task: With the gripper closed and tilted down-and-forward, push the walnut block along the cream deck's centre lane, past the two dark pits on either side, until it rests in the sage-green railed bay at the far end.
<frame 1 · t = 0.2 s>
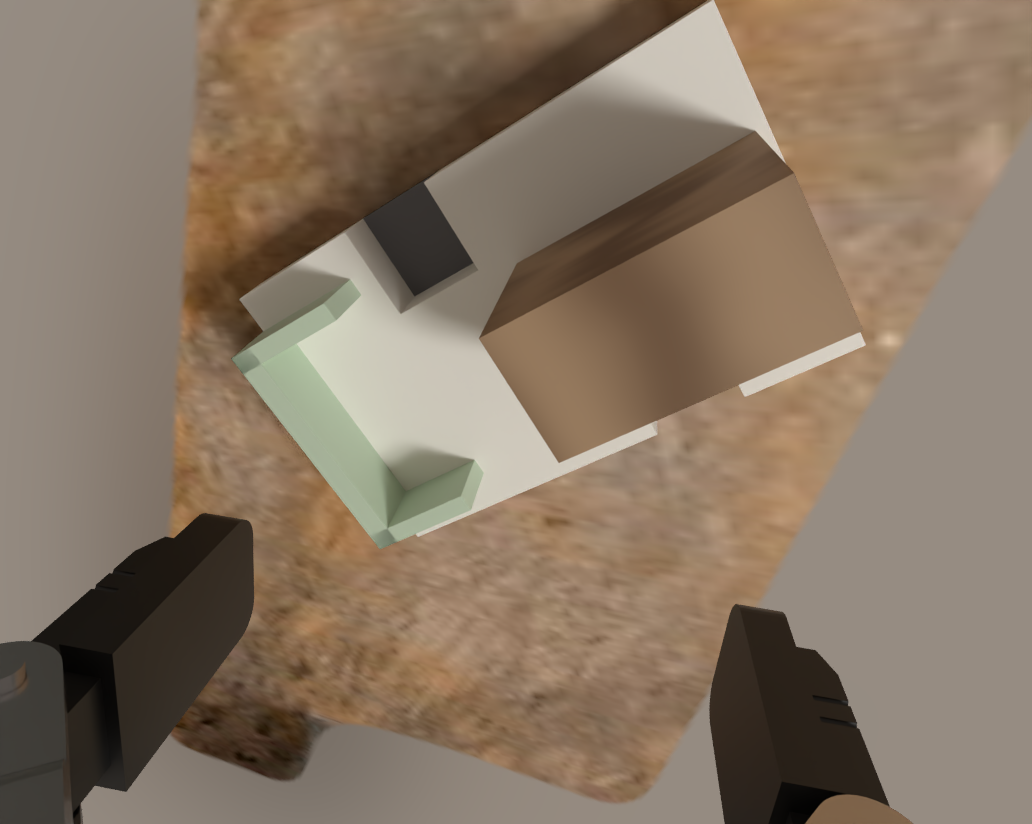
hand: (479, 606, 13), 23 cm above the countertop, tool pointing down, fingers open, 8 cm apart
walnut block: (658, 257, 30), point 2 cm above the countertop, touching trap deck
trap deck: (543, 300, 34), on the countertop
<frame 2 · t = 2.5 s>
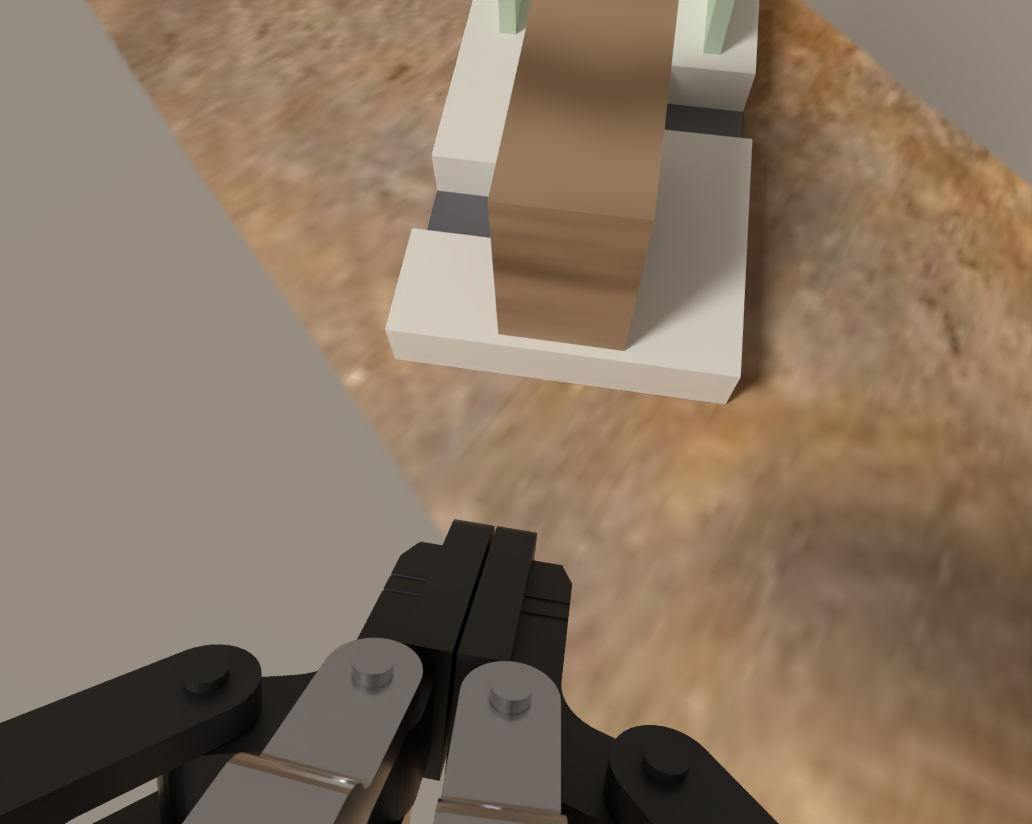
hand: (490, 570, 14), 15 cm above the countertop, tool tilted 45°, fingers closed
walnut block: (577, 239, 32), point 2 cm above the countertop, touching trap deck
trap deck: (589, 177, 36), on the countertop
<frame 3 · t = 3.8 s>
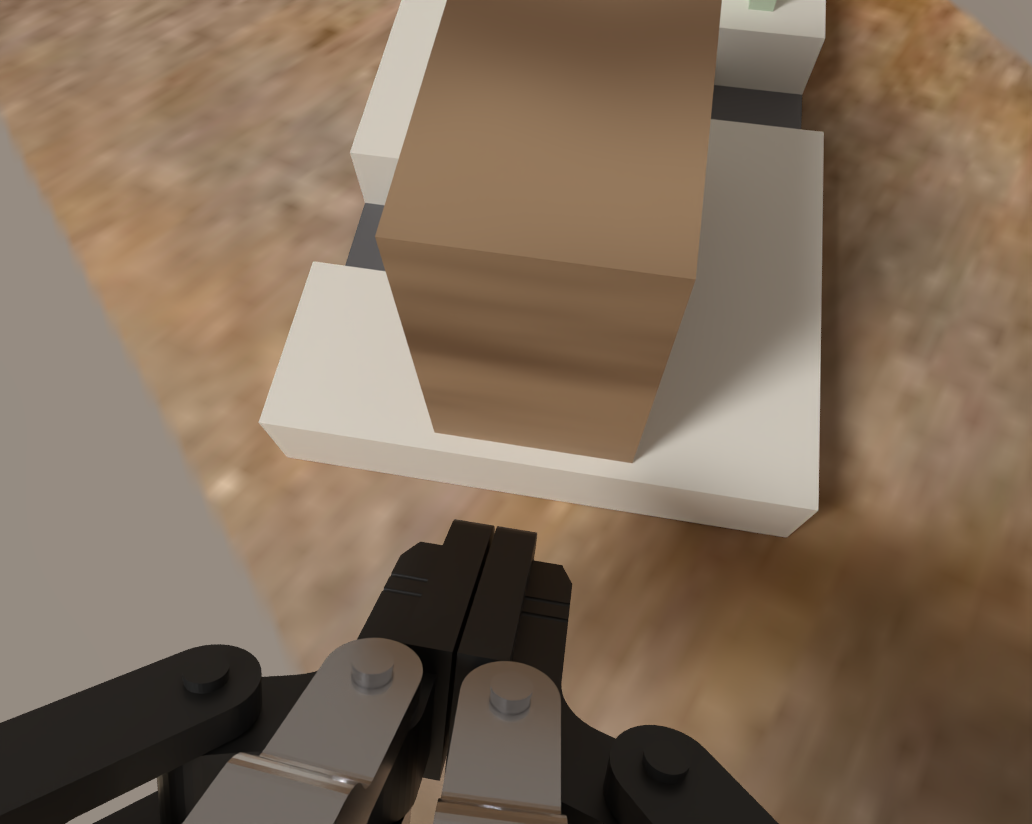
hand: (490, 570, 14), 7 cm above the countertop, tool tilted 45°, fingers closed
walnut block: (561, 281, 21), point 2 cm above the countertop, touching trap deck
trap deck: (583, 185, 26), on the countertop
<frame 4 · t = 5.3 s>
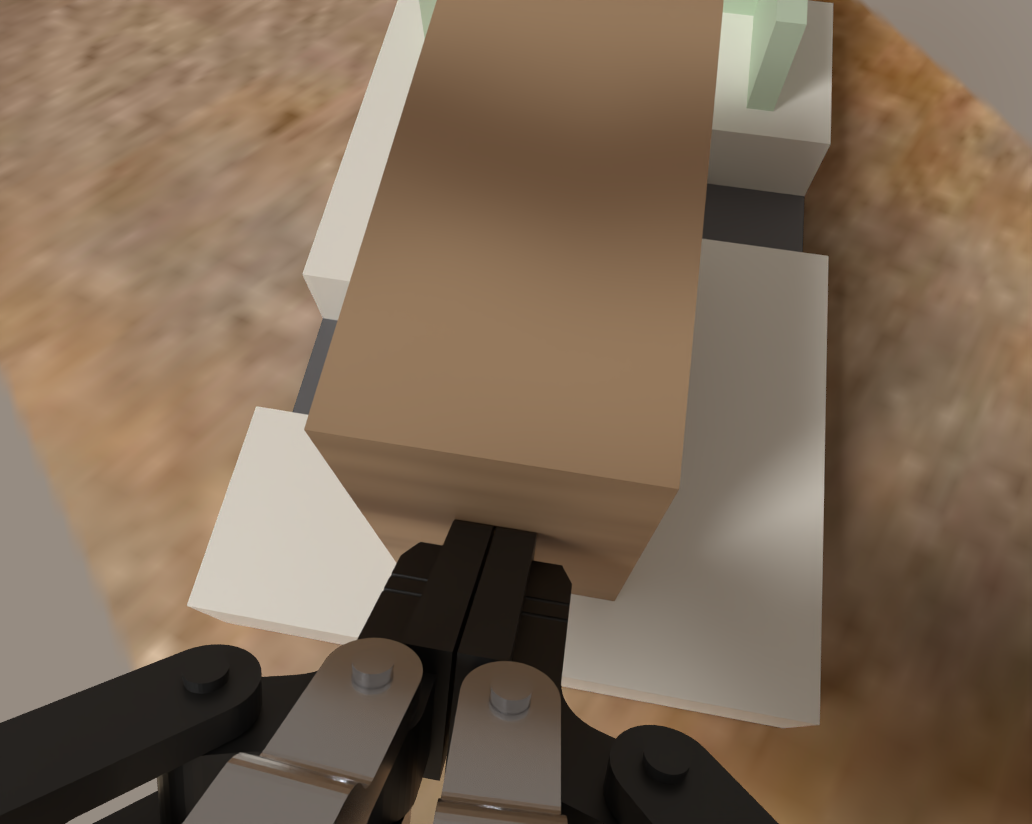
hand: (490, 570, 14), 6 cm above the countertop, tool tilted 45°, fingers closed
walnut block: (539, 386, 19), point 2 cm above the countertop, touching gripper, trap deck
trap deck: (564, 299, 23), on the countertop
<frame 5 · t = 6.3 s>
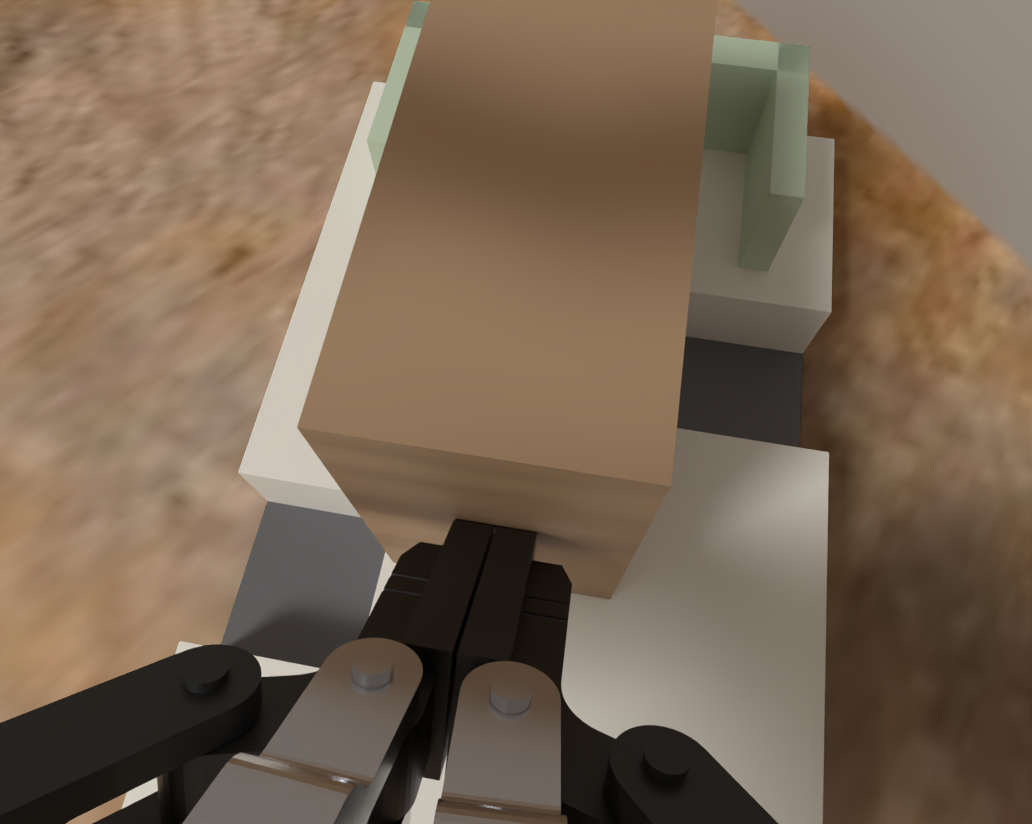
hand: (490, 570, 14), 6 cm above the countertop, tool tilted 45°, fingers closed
walnut block: (535, 385, 19), point 3 cm above the countertop
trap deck: (536, 477, 21), on the countertop
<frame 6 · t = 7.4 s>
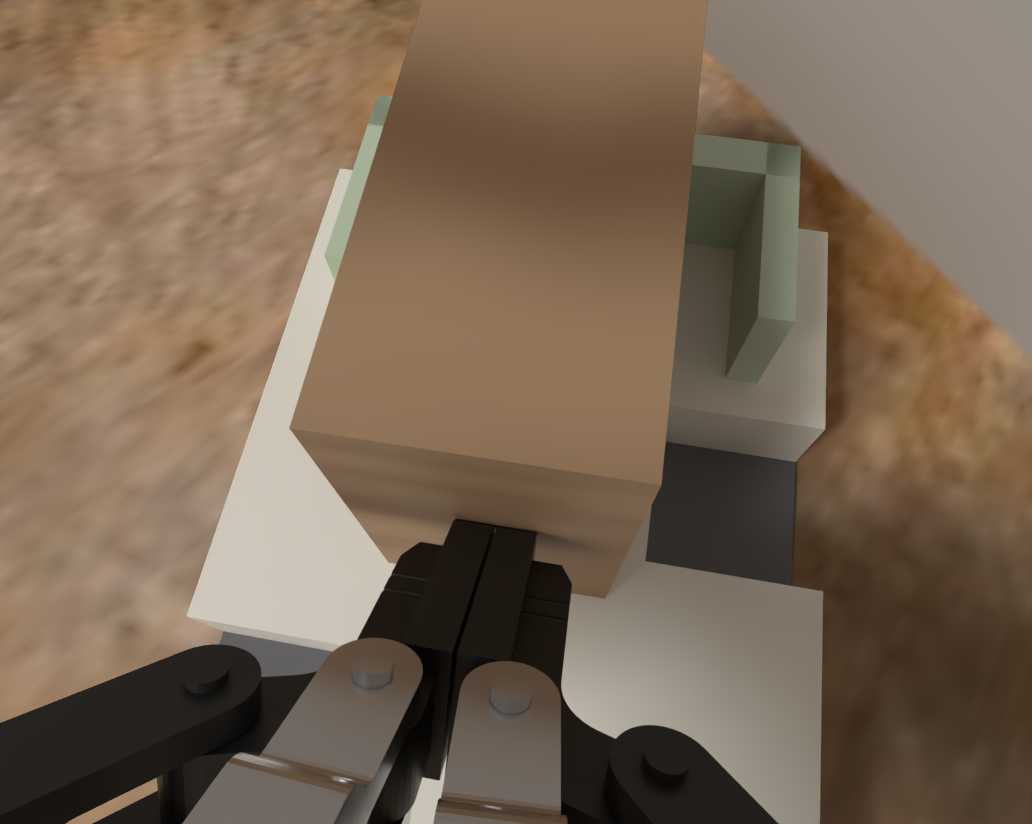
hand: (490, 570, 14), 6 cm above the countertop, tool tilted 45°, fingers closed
walnut block: (530, 385, 19), point 2 cm above the countertop, touching gripper, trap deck
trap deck: (511, 601, 20), on the countertop
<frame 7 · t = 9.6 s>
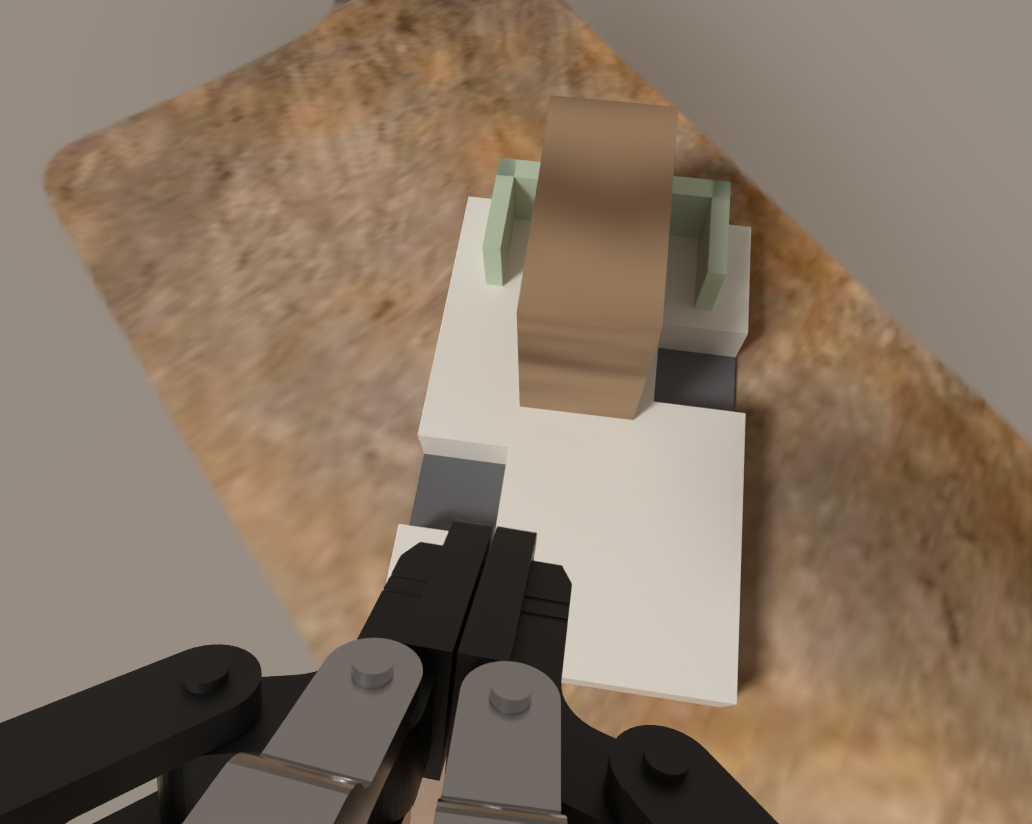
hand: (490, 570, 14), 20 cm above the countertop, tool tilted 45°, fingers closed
walnut block: (587, 315, 35), point 2 cm above the countertop, touching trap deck
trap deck: (579, 434, 36), on the countertop
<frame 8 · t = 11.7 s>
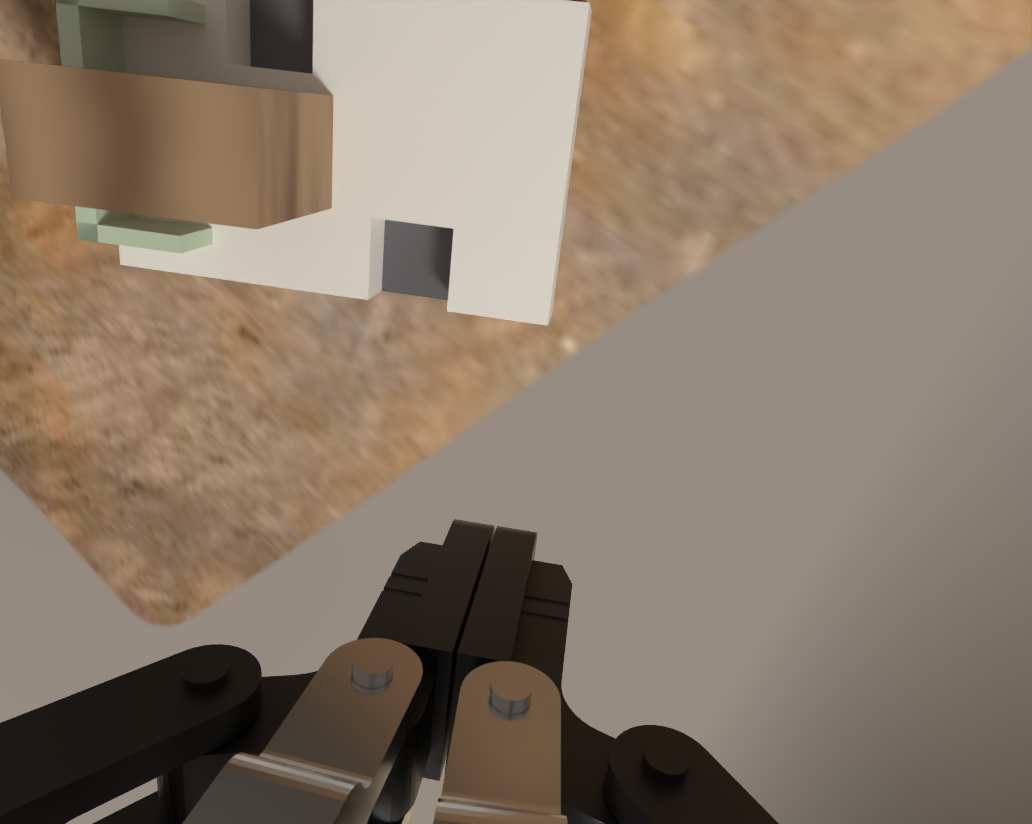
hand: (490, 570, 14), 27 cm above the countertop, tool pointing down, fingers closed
walnut block: (230, 141, 36), point 2 cm above the countertop, touching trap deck
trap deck: (350, 145, 38), on the countertop
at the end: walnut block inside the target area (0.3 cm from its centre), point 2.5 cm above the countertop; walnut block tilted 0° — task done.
